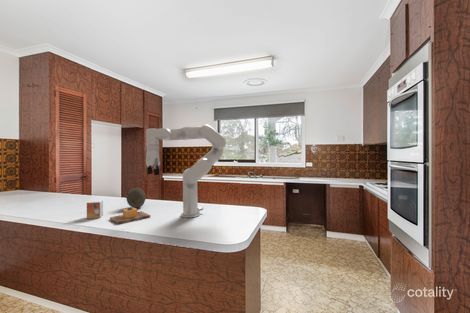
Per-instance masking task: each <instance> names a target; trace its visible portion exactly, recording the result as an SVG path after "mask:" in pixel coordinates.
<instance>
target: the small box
mask: <svg viewBox="0 0 470 313" xmlns="http://www.w3.org/2000/svg"><path fill="white" fill-rule="evenodd" d="M102 217H104V200H103V199H102V200H89V201H87V202H86V219H100V218H102Z"/></svg>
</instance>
